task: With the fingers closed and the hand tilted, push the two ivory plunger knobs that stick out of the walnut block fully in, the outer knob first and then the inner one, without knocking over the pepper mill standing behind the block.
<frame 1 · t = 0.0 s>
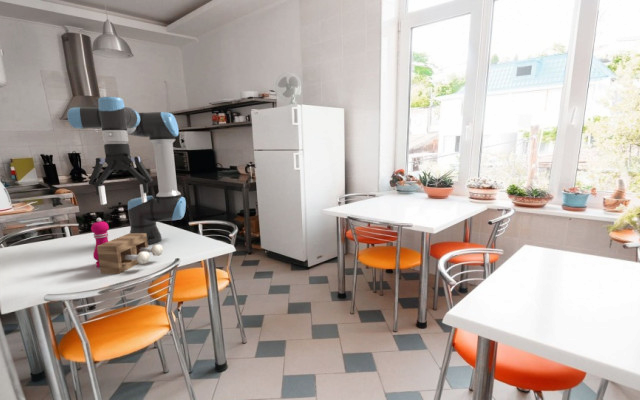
hand: (124, 203, 116), 28 cm above the table, tool pointing down, fingers open, 13 cm apart
inner knob: (150, 250, 136), point 5 cm above the table, slide at 6.0 cm
pepper mill: (105, 265, 135), on the table
walnut block: (126, 265, 134), on the table
outer knob: (136, 257, 127), point 5 cm above the table, slide at 6.0 cm
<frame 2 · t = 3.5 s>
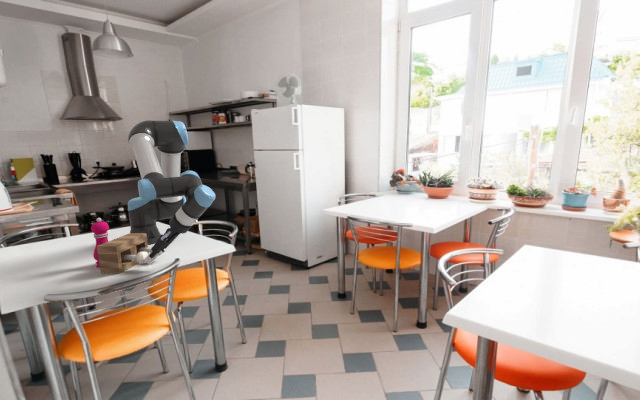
hand: (147, 261, 127), 3 cm above the table, tool tilted 45°, fingers closed
outer knob: (135, 257, 127), point 5 cm above the table, slide at 5.6 cm, touching gripper
everything else where it was.
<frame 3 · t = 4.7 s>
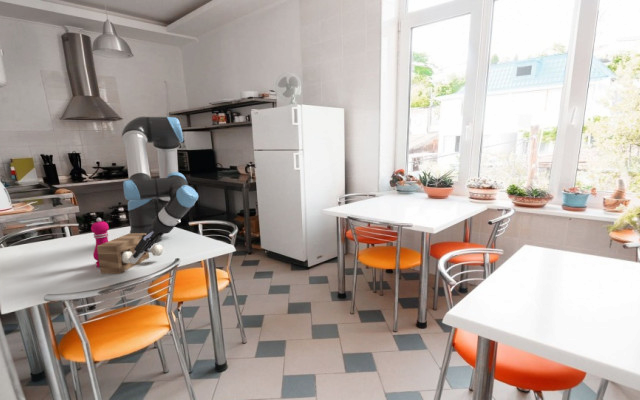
hand: (131, 261, 127), 3 cm above the table, tool tilted 45°, fingers closed
outer knob: (119, 257, 128), point 5 cm above the table, slide at -1.2 cm, touching gripper
everything else where it was.
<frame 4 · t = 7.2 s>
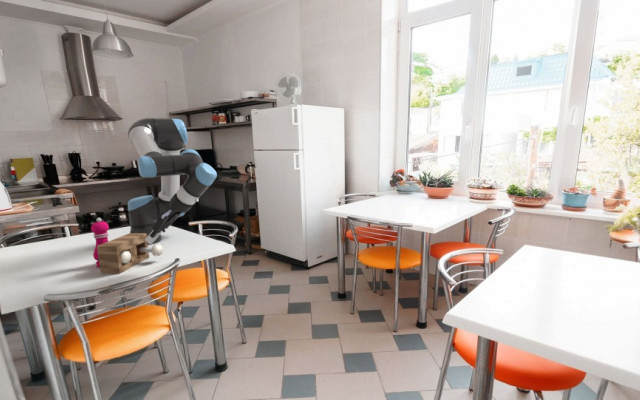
hand: (148, 241, 125), 12 cm above the table, tool tilted 45°, fingers closed
outer knob: (117, 257, 128), point 5 cm above the table, slide at -2.0 cm
everything else where it was.
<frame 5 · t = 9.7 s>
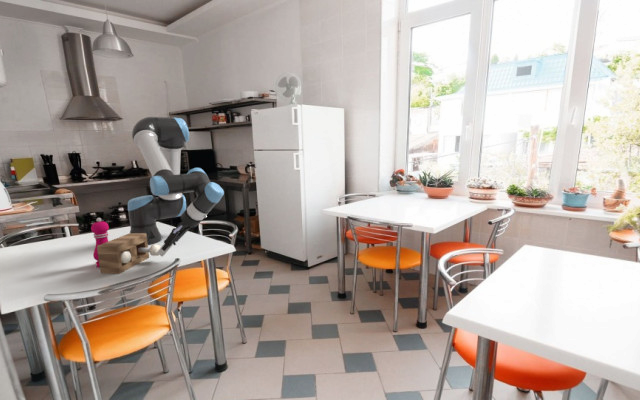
hand: (160, 253, 136), 3 cm above the table, tool tilted 45°, fingers closed
inner knob: (148, 250, 136), point 5 cm above the table, slide at 5.1 cm, touching gripper
everything else where it was.
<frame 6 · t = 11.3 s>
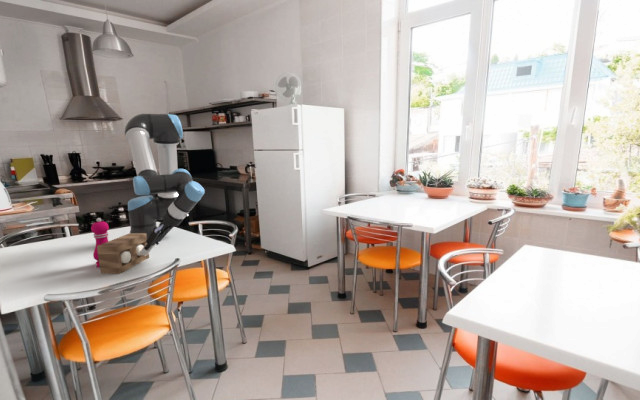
hand: (143, 253, 136), 4 cm above the table, tool tilted 45°, fingers closed
inner knob: (131, 249, 137), point 5 cm above the table, slide at -2.5 cm, touching gripper
everything else where it was.
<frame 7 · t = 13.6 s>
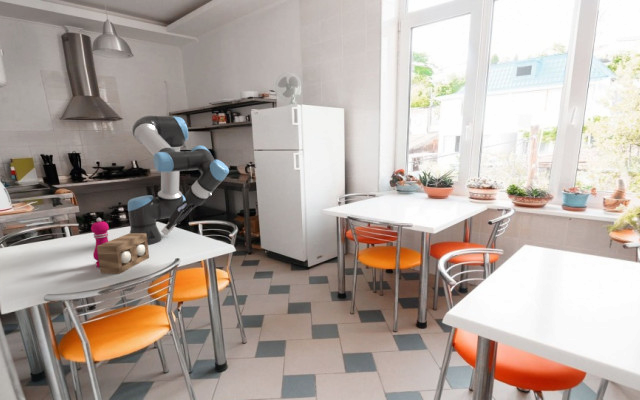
hand: (164, 233, 134), 12 cm above the table, tool tilted 45°, fingers closed
inner knob: (132, 249, 137), point 5 cm above the table, slide at -2.0 cm
everything else where it was.
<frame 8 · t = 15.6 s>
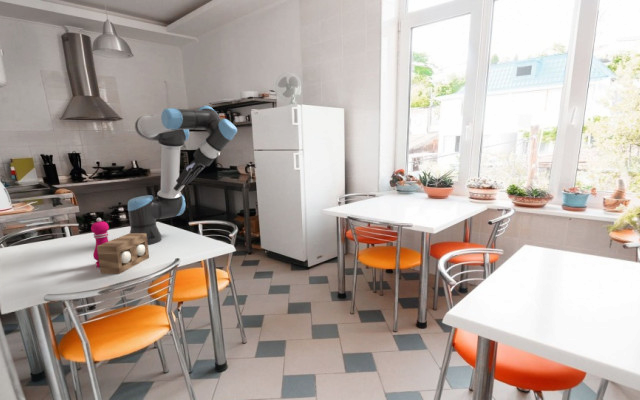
hand: (172, 194, 134), 28 cm above the table, tool tilted 45°, fingers closed
nothing on the table moved.
at the end: outer knob slide at -2.0 cm; inner knob slide at -2.0 cm; pepper mill tilted 0° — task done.
